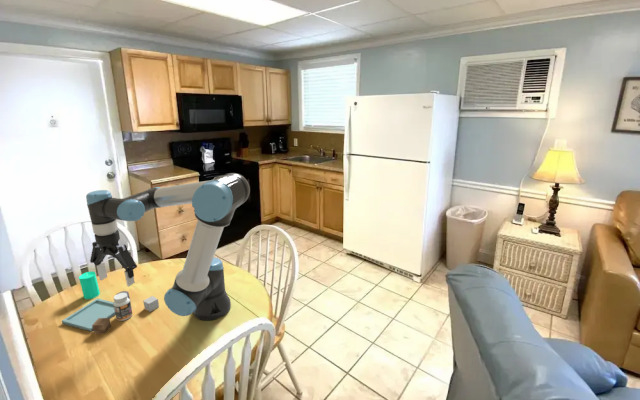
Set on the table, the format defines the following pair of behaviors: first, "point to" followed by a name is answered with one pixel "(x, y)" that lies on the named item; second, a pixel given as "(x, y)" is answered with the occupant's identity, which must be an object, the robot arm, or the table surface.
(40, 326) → the table surface
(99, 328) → the walnut block
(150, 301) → the grey block
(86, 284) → the candle
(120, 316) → the pill bottle
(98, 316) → the tray
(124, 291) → the dark grey stone
